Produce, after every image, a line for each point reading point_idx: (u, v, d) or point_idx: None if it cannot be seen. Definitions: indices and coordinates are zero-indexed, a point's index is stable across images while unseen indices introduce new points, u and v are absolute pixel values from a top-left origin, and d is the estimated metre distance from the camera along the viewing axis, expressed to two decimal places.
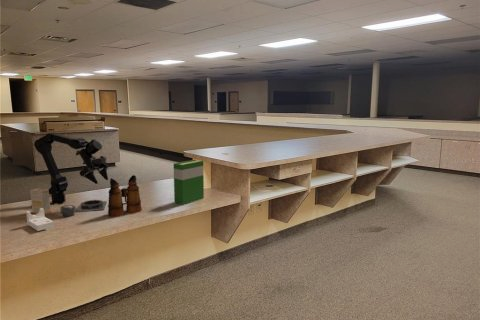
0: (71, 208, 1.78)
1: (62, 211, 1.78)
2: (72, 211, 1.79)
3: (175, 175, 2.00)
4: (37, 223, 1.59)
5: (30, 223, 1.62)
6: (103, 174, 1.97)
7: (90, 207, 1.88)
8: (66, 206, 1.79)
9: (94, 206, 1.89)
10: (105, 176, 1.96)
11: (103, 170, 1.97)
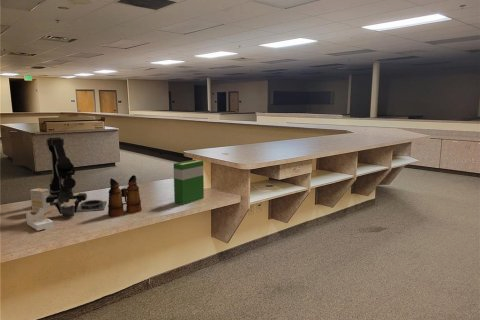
0: (71, 208, 1.78)
1: (62, 211, 1.78)
2: (72, 211, 1.79)
3: (175, 175, 2.00)
4: (36, 223, 1.60)
5: (29, 223, 1.63)
6: None
7: (90, 207, 1.88)
8: (66, 206, 1.79)
9: (94, 206, 1.89)
10: None
11: (75, 202, 1.79)
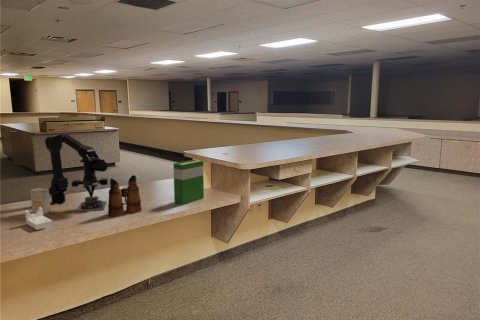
0: (95, 198, 1.92)
1: (86, 201, 1.91)
2: (96, 201, 1.93)
3: (175, 175, 2.00)
4: (35, 222, 1.60)
5: (28, 222, 1.64)
6: None
7: (90, 207, 1.88)
8: (90, 197, 1.92)
9: (94, 206, 1.89)
10: None
11: None
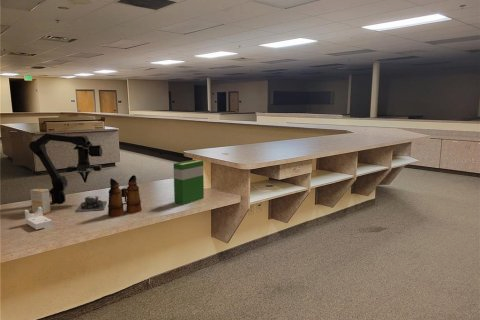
0: (95, 198, 1.92)
1: (86, 201, 1.91)
2: (96, 201, 1.93)
3: (175, 175, 2.00)
4: (35, 222, 1.61)
5: (28, 222, 1.64)
6: None
7: (90, 207, 1.88)
8: (90, 197, 1.92)
9: (94, 206, 1.89)
10: None
11: (85, 173, 2.01)
